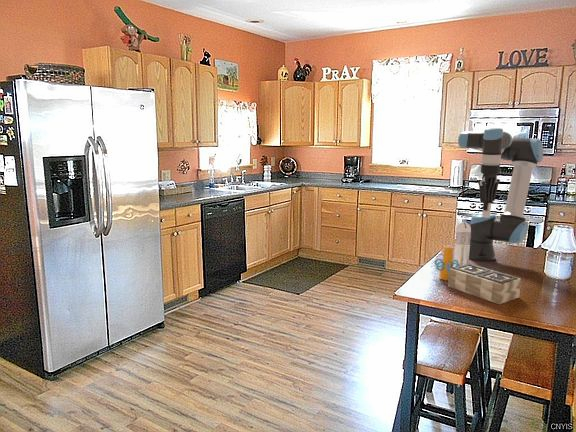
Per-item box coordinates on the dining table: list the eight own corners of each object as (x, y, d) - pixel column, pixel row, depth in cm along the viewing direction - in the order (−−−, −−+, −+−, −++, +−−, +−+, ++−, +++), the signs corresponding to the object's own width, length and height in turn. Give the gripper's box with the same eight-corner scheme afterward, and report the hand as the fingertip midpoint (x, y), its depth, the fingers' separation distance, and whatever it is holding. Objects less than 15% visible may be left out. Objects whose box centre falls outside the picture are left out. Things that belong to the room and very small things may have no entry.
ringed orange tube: (460, 283, 200) (463, 251, 197) (435, 282, 202) (438, 249, 199) (456, 275, 212) (458, 244, 209) (432, 273, 214) (435, 242, 211)
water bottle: (463, 272, 216) (467, 221, 211) (450, 269, 221) (454, 219, 216) (470, 269, 220) (475, 219, 215) (457, 266, 225) (461, 217, 220)
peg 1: (468, 283, 199) (470, 266, 197) (476, 286, 195) (478, 268, 194) (463, 285, 196) (464, 267, 195) (471, 288, 193) (472, 270, 192)
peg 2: (494, 292, 189) (495, 273, 187) (503, 294, 185) (505, 276, 184) (488, 293, 187) (490, 275, 185) (497, 296, 183) (499, 278, 182)
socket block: (467, 280, 205) (469, 262, 203) (519, 297, 185) (521, 277, 183) (447, 286, 197) (449, 267, 196) (499, 304, 178) (501, 283, 176)
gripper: (491, 162, 204) (486, 214, 209) (473, 164, 197) (469, 217, 202) (507, 164, 198) (502, 216, 203) (489, 165, 191) (485, 220, 196)
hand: (486, 217), depth 202 cm, fingers closed
